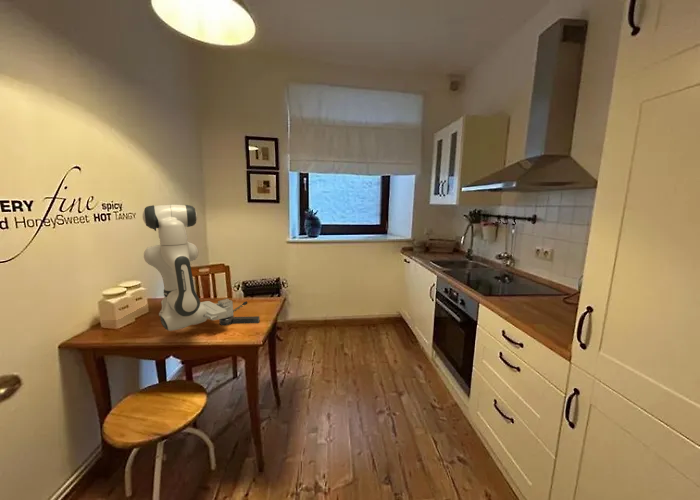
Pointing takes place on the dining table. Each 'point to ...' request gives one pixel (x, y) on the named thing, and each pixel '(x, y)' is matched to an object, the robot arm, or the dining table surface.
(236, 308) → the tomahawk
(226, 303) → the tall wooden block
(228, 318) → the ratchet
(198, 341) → the dining table surface
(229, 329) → the dining table surface
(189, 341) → the dining table surface
